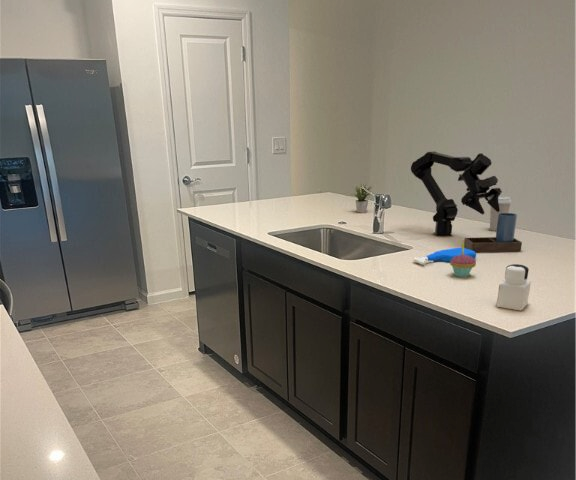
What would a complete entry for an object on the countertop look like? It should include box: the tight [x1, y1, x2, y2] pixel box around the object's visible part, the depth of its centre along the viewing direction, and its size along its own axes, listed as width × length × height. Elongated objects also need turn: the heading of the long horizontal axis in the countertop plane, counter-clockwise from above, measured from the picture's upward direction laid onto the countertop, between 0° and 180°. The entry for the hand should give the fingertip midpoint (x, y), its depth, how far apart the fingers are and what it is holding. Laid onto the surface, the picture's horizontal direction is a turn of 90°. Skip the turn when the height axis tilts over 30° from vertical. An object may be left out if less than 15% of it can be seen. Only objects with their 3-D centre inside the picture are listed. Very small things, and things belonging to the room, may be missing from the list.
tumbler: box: [495, 212, 518, 243], centre depth 221 cm, size 7×7×13 cm
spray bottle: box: [413, 247, 477, 266], centre depth 208 cm, size 3×11×24 cm
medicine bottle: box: [496, 263, 532, 311], centre depth 159 cm, size 7×7×12 cm
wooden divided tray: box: [463, 236, 523, 254], centre depth 223 cm, size 20×10×4 cm, turn 91°
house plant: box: [351, 181, 373, 214], centre depth 305 cm, size 14×14×16 cm
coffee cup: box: [489, 195, 513, 232], centre depth 255 cm, size 10×10×15 cm
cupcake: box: [449, 239, 477, 278], centre depth 188 cm, size 9×8×12 cm
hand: (491, 212), depth 225 cm, fingers open, 9 cm apart
